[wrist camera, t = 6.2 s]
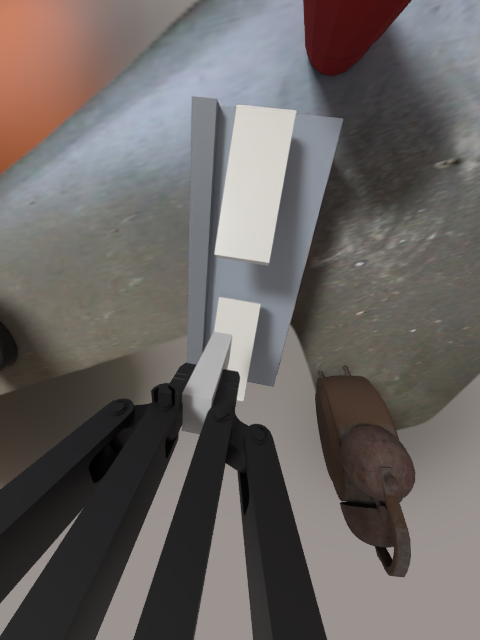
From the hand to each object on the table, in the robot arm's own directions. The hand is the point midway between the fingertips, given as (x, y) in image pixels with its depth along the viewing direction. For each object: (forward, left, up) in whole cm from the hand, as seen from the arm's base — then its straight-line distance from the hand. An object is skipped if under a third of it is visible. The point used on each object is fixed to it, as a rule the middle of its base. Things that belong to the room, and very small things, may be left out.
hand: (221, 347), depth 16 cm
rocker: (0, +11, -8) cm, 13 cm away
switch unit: (0, +4, -15) cm, 15 cm away
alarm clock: (+17, -13, -15) cm, 27 cm away
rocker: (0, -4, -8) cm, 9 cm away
